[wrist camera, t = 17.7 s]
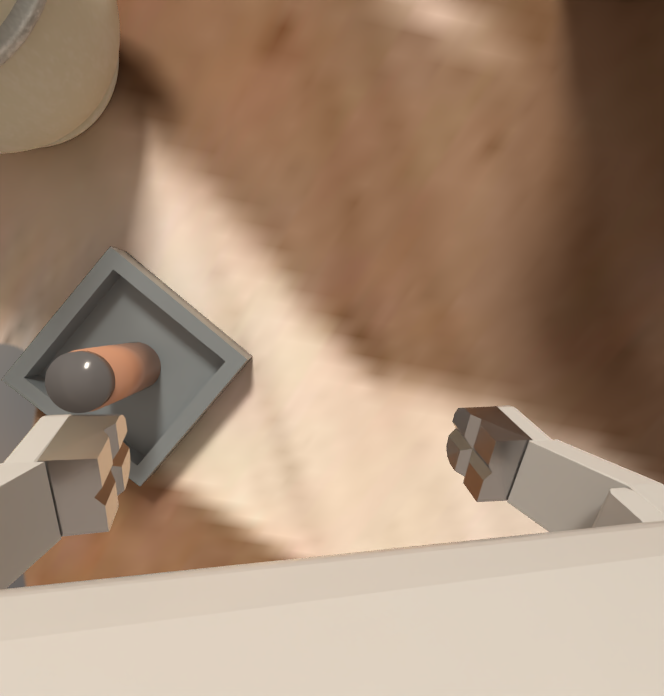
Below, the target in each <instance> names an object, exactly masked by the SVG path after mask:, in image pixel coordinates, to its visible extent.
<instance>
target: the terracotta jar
mask: <svg viewBox="0 0 664 696" xmlns="http://www.w3.org/2000/svg"><path fill="white" fill-rule="evenodd" d="M160 371H161V363H160V359H159V357H158V355H157V353H156V352H155V351H154V350H153V349H152V348H151V347H150V346H148V345H146V344H144V343H141V342H128V343H121V344H114V345H107V346H100V347H92V348H85V349H78V350H74V351H71V352H68V353H65V354H63V355H61V356H59V357H57V358H56V359H55V360H54V361H53V362H52V363H51V364H50V366H49V367H48V369H47V372H46V376H45V387H46V391H47V394H48V396H49V397H50V399H51V400H52V401H53V403H54V404H55V405H57V406H58V407H59V408H61V409H63V410H65V411H67V412H71V413H86V412H90V411H95V410H98V409H100V408H103V407H105V406H107V405H110V404H112V403H114V402H117V401H119V400H121V399H124V398H126V397H128V396H131V395H133V394H135V393H137V392H140V391H142V390H144V389H147V388H149V387H150V386H152V385H153V384H154V383H155V382H156V381H157V379H158V377H159V375H160Z"/></svg>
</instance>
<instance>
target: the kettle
mask: <svg viewBox="0 0 664 696" xmlns="http://www.w3.org/2000/svg"><path fill="white" fill-rule="evenodd" d="M119 47H120V22H119V13H118V6H117V0H0V154H2V153H15V152H22V151H27V150H32V149H35V148H42V147H49V146H54V145H57V144H61V143H63V142H66V141H68V140H70V139H73V138H74V137H76V136H78V135H80V134H81V133H82V132H84V131H85V130H87V129H88V128H89V127H90V126H91V125H92V124H93V123H94V122H95V121H96V120H97V119H98V118H99V117H100V115H101V114H102V113H103V111H104V110H105V108H106V106H107V105H108V103H109V101H110V99H111V97H112V94H113V92H114V88H115V85H116V81H117V76H118V69H119Z"/></svg>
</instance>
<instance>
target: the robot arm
mask: <svg viewBox="0 0 664 696" xmlns="http://www.w3.org/2000/svg"><path fill="white" fill-rule="evenodd" d="M452 422H453V424H454V426H455V428H456V429H455V430H454V431H453V432H452V433H451V434H450V435H449V437H448V442H447V446H446V447H447V457H448V459H449V462H450V464H451V466H452V467H453V469H454V470H455V471H456V472H458V473H459V474H461V475H463V476H464V482H463V483H464V485H465V486H466V487H467V489H468V490H469V492H470V493H471V494H472V496H473V497H474V499H475V500H476V501H477V502H485V501H505V500H508V501H507V502H508V503H509V504H511V505H512V506H514V507H515V508H516V509H518V510H519V511H521V512H522V513H523V514H525V515H526V516H528V517H529V518H530V519H532V520H533V521H535V522H536V523H537V524H539V525H540V526H542V527H543V528H544V529H546V530H547V531H549V532H548V533H538V534H528V535H519V536H509V537H499V538H490V539H480V540H470V541H461V542H451V543H441V544H432V545H422V546H412V547H403V548H394V549H384V550H375V551H365V552H356V553H346V554H337V555H328V556H318V557H309V558H299V559H290V560H280V561H270V562H261V563H251V564H241V565H232V566H222V567H213V568H203V569H193V570H184V571H174V572H164V573H155V574H145V575H136V576H126V577H116V578H107V579H97V580H88V581H78V582H68V583H59V584H49V585H39V586H30V587H20V588H11V589H6V588H7V587H8V586H9V585H10V584H12V582H14V581H15V580H16V579H17V578H18V577H19V576H20V575H22V574H23V573H24V572H25V571H26V570H27V569H28V568H29V567H31V566H32V565H33V564H34V563H35V562H36V561H37V560H38V559H39V558H41V557H42V556H43V555H44V554H45V553H46V552H47V551H48V550H49V549H51V548H52V547H53V546H54V545H55V544H56V543H57V542H58V541H59V540H61V536H71V535H80V534H89V533H99V532H108V531H109V530H110V527H111V525H112V522H113V520H114V517H115V514H116V512H117V509H118V507H119V505H118V497H117V496H118V495H119V494H121V493H122V492H123V491H124V490H125V488H126V485H127V482H128V477H129V471H130V449H129V447H128V446H127V445H126V444H125V443H124V442H123V440H124V438H125V435H126V433H127V425H126V419H125V417H124V416H123V414H93V415H71V414H65V415H46V416H42V417H41V418H40V419H39V420H38V422H37V423H36V424H35V425H34V426H33V428H32V429H31V430H30V431H29V432H28V434H27V435H26V436H25V437H24V439H23V440H22V441H21V442H20V443H19V444H18V446H17V447H16V448H15V450H13V452H12V453H11V454H10V455H9V456H8V458H7V459H6V460H5V461H4V462H3V463H0V696H664V485H663V484H662V483H659V482H657V481H655V480H652V479H650V478H648V477H645V476H643V475H640V474H638V473H636V472H633V471H631V470H629V469H626V468H624V467H621V466H619V465H617V464H614V463H612V462H610V461H607V460H605V459H602V458H600V457H598V456H595V455H593V454H591V453H588V452H586V451H584V450H581V449H579V448H576V447H574V446H572V445H569V444H567V443H565V442H562V441H560V440H557V439H555V440H552V439H551V438H550V437H549V436H547V435H546V434H545V433H544V432H543V431H542V430H541V429H539V428H538V427H537V426H536V425H535V424H534V423H532V422H531V421H530V420H529V419H528V418H527V417H525V416H524V415H523V414H522V413H521V412H520V411H519V410H517V409H516V408H515V407H512V406H509V405H507V406H492V407H473V408H458V409H457V411H456V412H455V414H454V418H453V421H452Z"/></svg>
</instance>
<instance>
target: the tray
mask: <svg viewBox="0 0 664 696" xmlns="http://www.w3.org/2000/svg"><path fill="white" fill-rule="evenodd" d="M128 342H141V343H144V344H146V345H148V346H150V347H151V348H152V349H153V350H154V351H155V352H156V353H157V355H158V357H159V359H160V363H161V371H160V375H159V377H158V379H157V381H156V382H155V383H154V384H153V385H152V386H150V387H149V388H147V389H144V390H142V391H140V392H137V393H135V394H133V395H131V396H128V397H126V398H124V399H121V400H119V401H117V402H114V403H112V404H110V405H107V406H105V407H103V408H100V409H98V410H95V411H90V412H86V413H71V412H67V411H65V410H63V409H61V408H59V407H58V406H57V405H55V404H54V403H53V401H52V400H51V399H50V397H49V396H48V394H47V391H46V387H45V376H46V372H47V369H48V367H49V366H50V364H51V363H52V362H53V361H54V360H55V359H56V358H57V357H59V356H61V355H63V354H65V353H68V352H71V351H74V350H78V349H85V348H92V347H100V346H107V345H114V344H121V343H128ZM251 357H252V356H251V355H250V354H249V353H248V352H247V351H245V350H244V349H243V348H242V347H241V346H239V345H238V344H237V343H236V342H235V341H233V340H232V339H231V338H230V337H229V336H227V335H226V334H225V333H224V332H222V331H221V330H220V329H219V328H218V327H216V326H215V325H214V324H213V323H212V322H210V321H209V320H208V319H207V318H206V317H204V316H203V315H202V314H201V313H200V312H198V311H197V310H196V309H195V308H194V307H192V306H191V305H190V304H189V303H187V302H186V301H185V300H184V299H183V298H181V297H180V296H179V295H178V294H177V293H175V292H174V291H173V290H172V289H171V288H169V287H168V286H167V285H166V284H165V283H163V282H162V281H161V280H160V279H159V278H157V277H156V276H155V275H154V274H152V273H151V272H150V271H149V270H148V269H146V268H145V267H144V266H143V265H142V264H140V263H139V262H138V261H137V260H136V259H134V258H133V257H132V256H131V255H130V254H128V253H127V252H125V251H123V250H120V249H117V248H114V247H111V246H110V247H109V249H108V250H107V251H106V252H105V254H104V255H103V256H102V257H101V258H100V260H99V261H98V262H97V263H96V265H95V266H94V267H93V268H92V269H91V271H90V272H89V273H88V274H87V276H86V277H85V278H84V279H83V280H82V282H81V283H80V284H79V285H78V286H77V288H76V289H75V290H74V291H73V293H72V294H71V295H70V296H69V297H68V299H67V300H66V301H65V302H64V304H63V305H62V306H61V307H60V308H59V310H58V311H57V312H56V313H55V314H54V316H53V317H52V318H51V319H50V321H49V322H48V323H47V324H46V325H45V327H44V328H43V329H42V330H41V332H40V333H39V334H38V335H37V336H36V338H35V339H34V340H33V341H32V343H31V344H30V345H29V346H28V347H27V349H26V350H25V351H24V352H23V353H22V355H21V356H20V357H19V358H18V360H17V361H16V362H15V363H14V365H13V366H12V367H11V368H10V369H9V371H8V372H7V373H6V374H5V375H4V377H3V378H2V379H1V380H2V381H3V382H5V383H6V384H7V385H8V386H10V387H11V388H12V389H14V390H15V391H16V392H17V393H19V394H20V395H21V396H23V397H24V398H25V399H27V400H28V401H29V402H30V403H32V404H33V405H34V406H36V407H37V408H38V409H40V410H41V411H42V412H43V413H45V414H46V415H65V414H71V415H93V414H123V416H124V417H125V419H126V425H127V433H126V435H125V438H124V440H123V442H124V443H125V444H126V445H127V446H128V447H129V449H130V471H129V477H128V478H129V479H131V480H132V481H133V482H135V483H136V484H137V485H139V486H141V485H142V484H143V483H144V482H145V481H146V480H147V479H148V478H149V477H150V476H151V475H152V474H153V473H154V472H155V471H156V470H157V468H158V467H159V466H160V465H161V464H162V463H163V461H164V460H165V459H166V458H167V457H168V455H169V454H170V453H171V452H172V451H173V450H174V448H175V447H176V446H177V445H178V444H179V442H180V441H181V440H182V439H183V438H184V437H185V435H186V434H187V433H188V432H189V431H190V430H191V428H192V427H193V426H194V425H195V424H196V422H197V421H198V420H199V419H200V418H201V417H202V415H203V414H204V413H205V412H206V411H207V409H208V408H209V407H210V406H211V405H212V404H213V402H214V401H215V400H216V399H217V398H218V396H219V395H220V394H221V393H222V392H223V391H224V389H225V388H226V387H227V386H228V385H229V383H230V382H231V381H232V380H233V379H234V378H235V376H236V375H237V374H238V373H239V372H240V370H241V369H242V368H243V367H244V366H245V365H246V363H247V362H248V361H249V360H250V359H251Z"/></svg>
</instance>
